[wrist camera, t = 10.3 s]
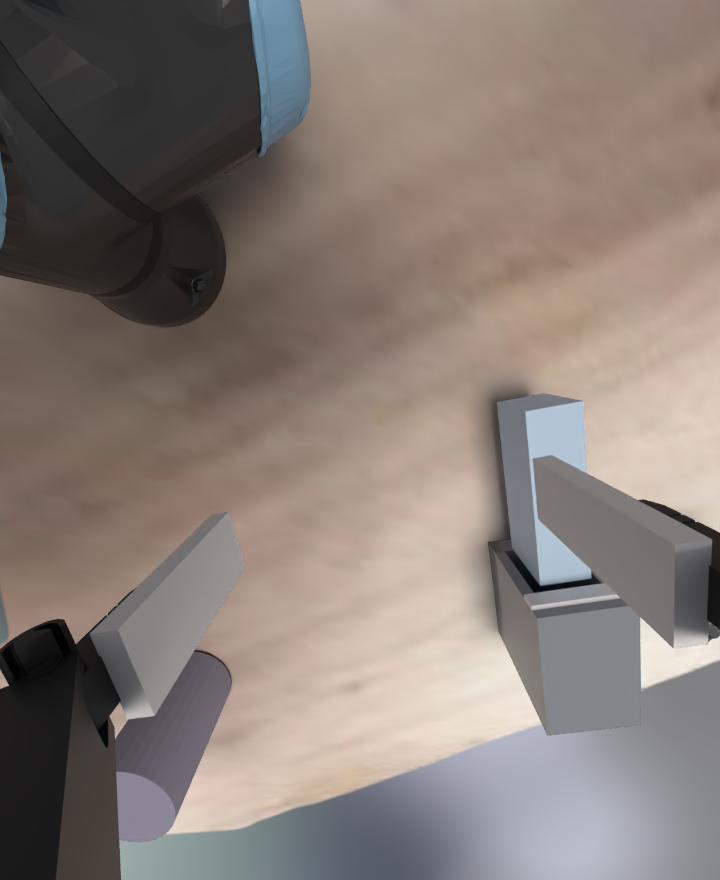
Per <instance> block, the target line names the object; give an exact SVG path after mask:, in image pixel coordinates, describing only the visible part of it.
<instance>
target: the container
mask: <svg viewBox="0 0 720 880" xmlns="http://www.w3.org/2000/svg"><path fill="white" fill-rule="evenodd" d="M230 690H231V678H230V675H229V672H228V671H227V669H226V667H225V666H224V665H223V664H222V663H221V662H220V661H218V660H217V659H216V658H214V657H212V656H210V655H208V654H205V653H201V652H193V654H192V655H191V657H190V659H189V660H188V662H187V663H186V665H185V667H184V668H183V670H182V672H181V673H180V675H179V677H178V678H177V680H176V682H175V683H174V685H173V687H172V688H171V690H170V691H169V693H168V695H167V696H166V698H165V700H164V701H163V703H162V705H161V706H160V708H159V710H158V711H157V713H156V714H155V716H150V717H142V718H135V719H128V721H127V722H126V724H125V725H124V727H123V728H122V730H121V731H120V733H119V734H118V736H117V737H116V739H115V755H116V778H117V802H118V825H119V840H124V841H129V842H145V841H151V840H155V839H157V838H159V837H161V836H163V835H164V834H166V833H167V832H168V831H169V830H170V829H171V827H172V826H173V823H174V821H175V819H176V816H177V814H178V812H179V809H180V807H181V805H182V802H183V800H184V798H185V795H186V793H187V791H188V788H189V786H190V784H191V781H192V779H193V777H194V774H195V772H196V770H197V767H198V765H199V763H200V760H201V758H202V756H203V753H204V751H205V749H206V746H207V744H208V742H209V739H210V737H211V735H212V732H213V730H214V728H215V725H216V723H217V721H218V718H219V716H220V713H221V711H222V709H223V706H224V704H225V702H226V699H227V697H228V695H229V692H230Z"/></svg>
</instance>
